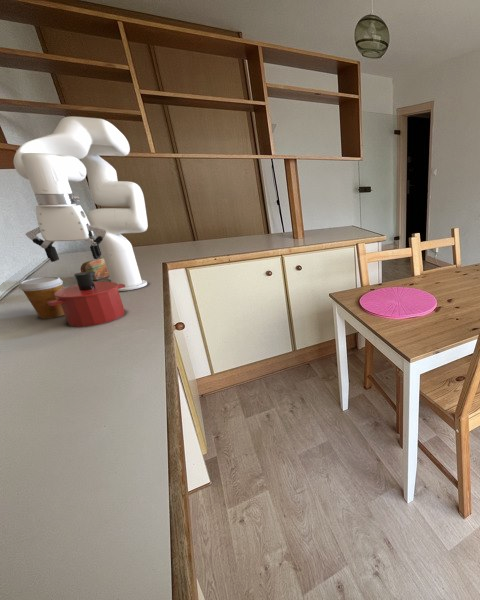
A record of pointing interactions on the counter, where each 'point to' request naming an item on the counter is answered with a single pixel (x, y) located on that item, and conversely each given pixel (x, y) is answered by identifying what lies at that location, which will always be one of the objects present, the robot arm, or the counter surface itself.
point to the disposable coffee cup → (43, 295)
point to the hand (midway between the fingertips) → (76, 259)
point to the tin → (95, 268)
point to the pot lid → (85, 287)
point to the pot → (92, 308)
